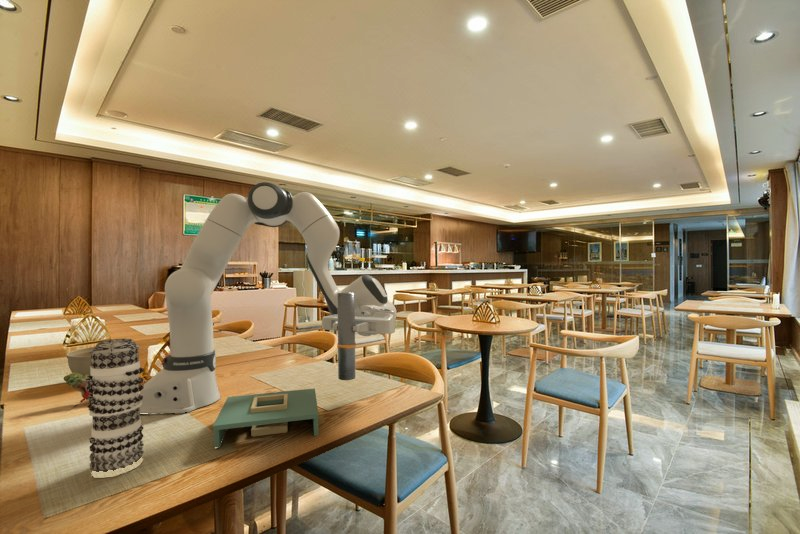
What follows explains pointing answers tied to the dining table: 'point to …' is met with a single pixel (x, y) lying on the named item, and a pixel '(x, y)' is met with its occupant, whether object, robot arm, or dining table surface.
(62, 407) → the dining table surface
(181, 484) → the dining table surface
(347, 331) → the air tube
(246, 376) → the dining table surface
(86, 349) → the planter bowl
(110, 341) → the decorative candle
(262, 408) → the green slotted stand
